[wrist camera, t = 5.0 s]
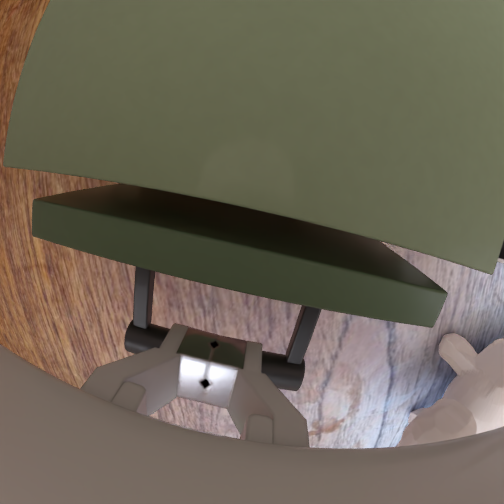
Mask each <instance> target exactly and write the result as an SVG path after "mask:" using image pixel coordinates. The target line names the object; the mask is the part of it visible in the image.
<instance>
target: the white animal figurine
mask: <svg viewBox="0 0 504 504" xmlns="http://www.w3.org/2000/svg"><path fill="white" fill-rule="evenodd" d="M439 355H440V356H441V357H442V358H443V359H444V360H446V361H447V362H448V364H449V365H450V366H451V367H452V369H453V370H454V371H455V372H456V373H457V376H456V377H455V378H454V379H453V380H452V382H451V383H450V384H449V385H448V387H447V389H446V391H445V393H444V395H443V397H442V399H439V400H438V401H437V402H436V403H435V404H434V405H432V406H431V407H429V408H424V407H423V408H419V409H416V410H414V411H413V412H411V413H410V415H409V418H408V419H409V420H408V423H409V425H408V426H407V427H406V428H405V430H404V431H403V435H402V438H401V440H400V442H399V443H398V444H397V446H396V447H399V446H409V445H418V444H426V443H433V442H439V441H445V440H451V439H456V438H461V437H465V436H470V435H474V434H478V433H482V432H486V431H490V430H494V429H497V428H500V427H503V426H504V338H501V339H498V340H495V341H494V342H493V343H492V344H489V345H488V347H486V348H484V350H483V351H482V352H480V353H479V354H477V353H476V352H475V351H474V348H473V347H472V346H471V345H470V344H469V342H467V340H466V339H465V338H463V337H462V336H460V335H458V334H456V333H451V334H446V335H444V336H443V337H442V340H441V342H440V344H439Z"/></svg>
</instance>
